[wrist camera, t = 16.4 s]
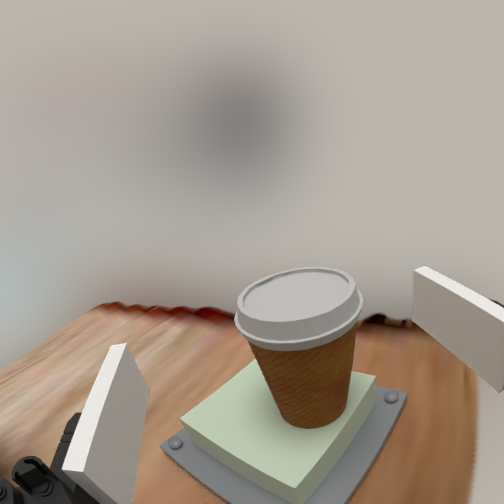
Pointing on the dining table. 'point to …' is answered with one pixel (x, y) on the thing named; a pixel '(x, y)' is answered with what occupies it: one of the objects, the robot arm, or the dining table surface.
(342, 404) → the disposable coffee cup
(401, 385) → the dining table surface
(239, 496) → the tower base
